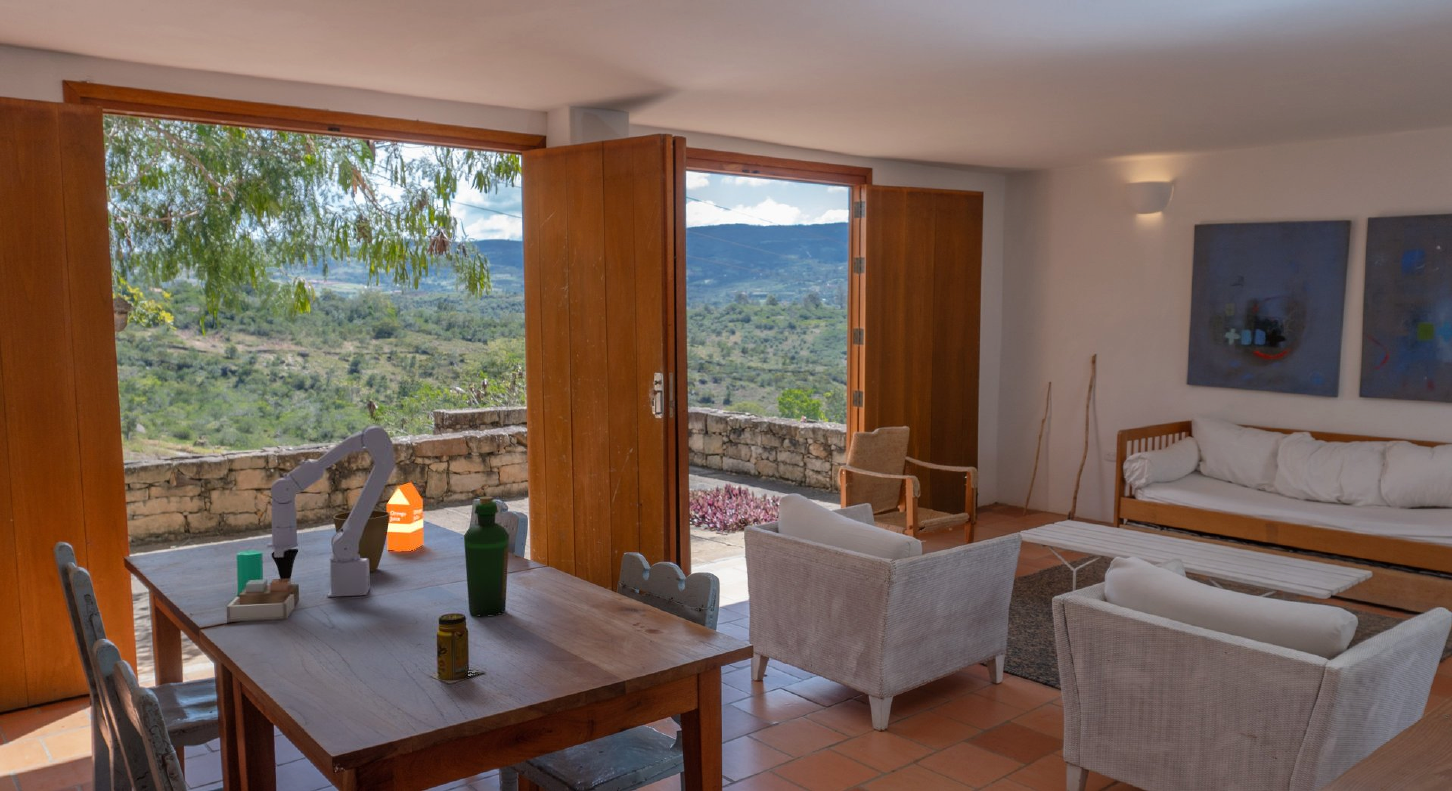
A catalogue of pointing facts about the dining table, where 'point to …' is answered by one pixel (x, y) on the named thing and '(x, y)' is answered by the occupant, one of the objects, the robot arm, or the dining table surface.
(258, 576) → the candle
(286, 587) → the tile terracotta
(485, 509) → the bottle
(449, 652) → the condiment
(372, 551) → the plant pot
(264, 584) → the grey rectangular prism
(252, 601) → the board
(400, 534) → the orange juice
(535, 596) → the dining table surface
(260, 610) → the tray
